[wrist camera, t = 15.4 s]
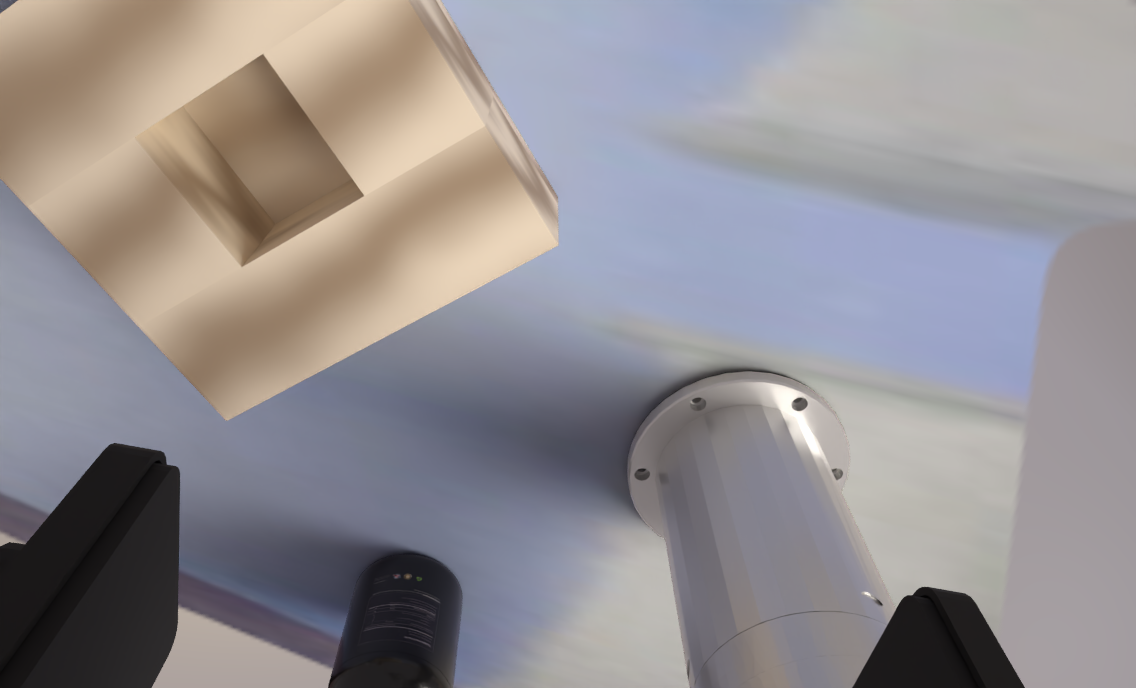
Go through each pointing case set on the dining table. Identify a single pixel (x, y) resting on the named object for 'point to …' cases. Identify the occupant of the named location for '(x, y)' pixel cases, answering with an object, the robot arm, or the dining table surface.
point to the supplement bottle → (401, 627)
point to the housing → (266, 172)
